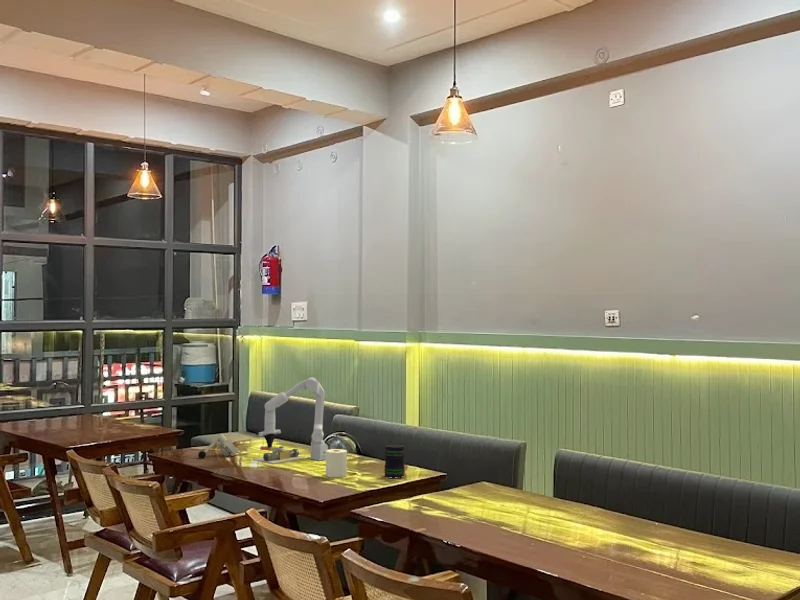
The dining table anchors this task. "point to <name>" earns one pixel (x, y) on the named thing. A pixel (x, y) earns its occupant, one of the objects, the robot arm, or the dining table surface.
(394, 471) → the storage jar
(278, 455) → the valve body
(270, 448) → the lever
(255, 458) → the mounting board
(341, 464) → the toilet paper
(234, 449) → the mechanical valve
